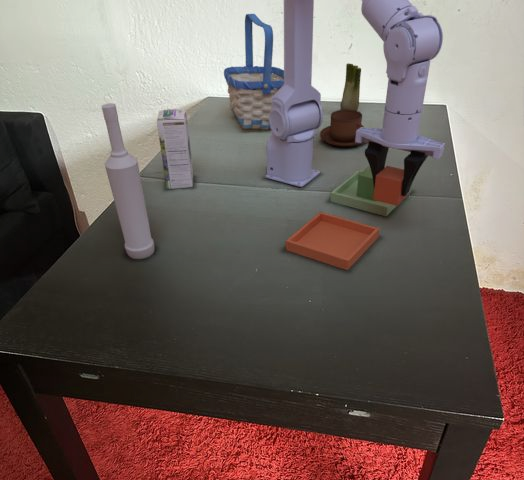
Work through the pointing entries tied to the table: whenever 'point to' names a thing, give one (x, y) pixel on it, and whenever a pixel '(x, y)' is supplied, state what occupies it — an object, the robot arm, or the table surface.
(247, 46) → the basket
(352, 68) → the fennel bulb
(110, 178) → the bottle
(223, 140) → the table surface
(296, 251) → the clay tray
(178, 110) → the syrup box
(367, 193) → the green block
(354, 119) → the cup and saucer
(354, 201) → the green tray
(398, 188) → the clay block
